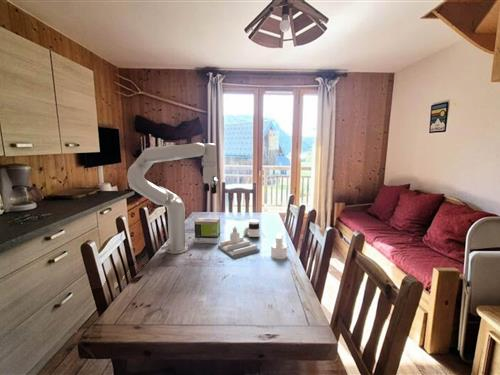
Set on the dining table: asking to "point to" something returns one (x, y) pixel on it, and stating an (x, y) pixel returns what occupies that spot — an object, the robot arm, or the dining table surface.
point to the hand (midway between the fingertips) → (210, 192)
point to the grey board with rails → (238, 248)
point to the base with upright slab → (279, 248)
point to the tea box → (207, 230)
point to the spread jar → (253, 229)
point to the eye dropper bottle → (234, 236)
